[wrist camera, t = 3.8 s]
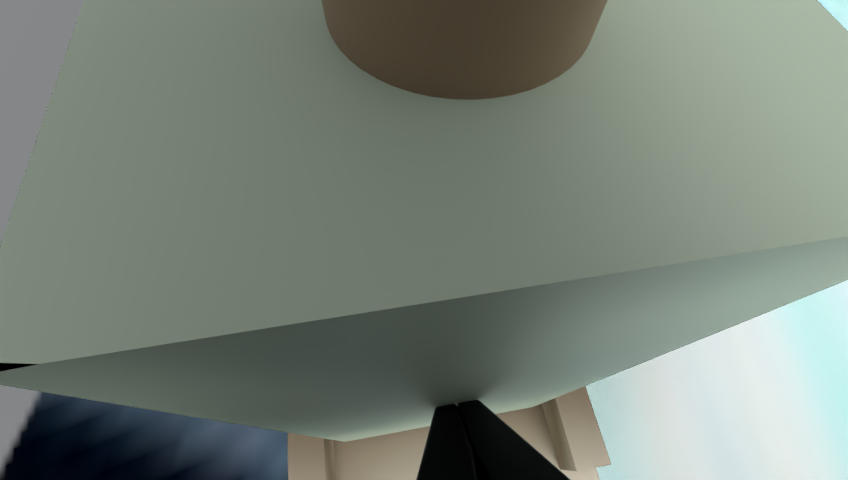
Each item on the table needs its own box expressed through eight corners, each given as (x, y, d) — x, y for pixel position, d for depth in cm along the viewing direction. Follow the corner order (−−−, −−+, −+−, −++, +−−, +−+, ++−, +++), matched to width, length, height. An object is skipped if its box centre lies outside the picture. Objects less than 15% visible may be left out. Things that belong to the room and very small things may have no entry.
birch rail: (587, 479, 13) (621, 484, 11) (308, 536, 13) (285, 554, 10) (472, 102, 21) (478, 61, 19) (294, 122, 20) (280, 81, 18)
